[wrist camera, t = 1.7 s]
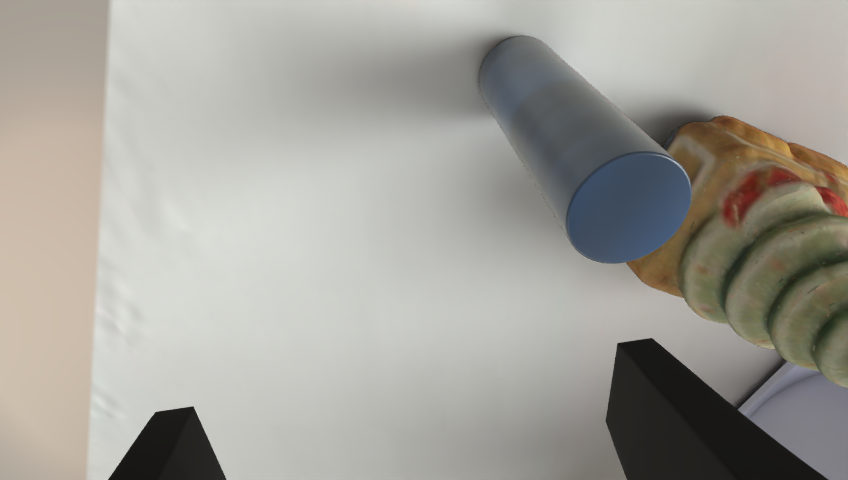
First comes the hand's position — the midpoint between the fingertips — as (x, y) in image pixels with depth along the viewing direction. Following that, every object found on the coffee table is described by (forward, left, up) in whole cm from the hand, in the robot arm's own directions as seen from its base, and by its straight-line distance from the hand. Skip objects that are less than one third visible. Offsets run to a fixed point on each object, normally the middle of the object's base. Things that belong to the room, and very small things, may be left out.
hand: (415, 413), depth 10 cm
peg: (-3, -4, -10) cm, 11 cm away
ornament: (-12, -3, -10) cm, 16 cm away
